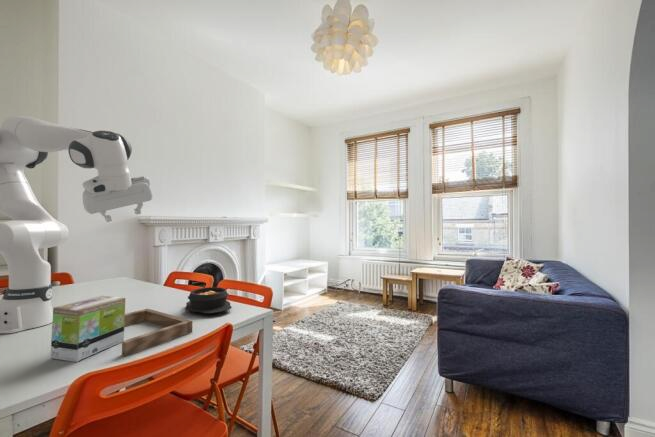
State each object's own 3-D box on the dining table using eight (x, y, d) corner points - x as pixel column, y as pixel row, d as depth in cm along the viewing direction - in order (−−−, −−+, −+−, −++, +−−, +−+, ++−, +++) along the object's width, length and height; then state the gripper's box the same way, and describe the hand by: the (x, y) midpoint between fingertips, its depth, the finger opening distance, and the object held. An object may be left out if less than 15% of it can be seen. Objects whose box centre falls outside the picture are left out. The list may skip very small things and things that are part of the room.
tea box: (78, 363, 82) (79, 309, 82) (49, 359, 84) (50, 307, 84) (125, 341, 96) (126, 296, 97) (100, 338, 99) (101, 294, 99)
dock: (125, 356, 86) (125, 342, 86) (80, 336, 100) (81, 324, 100) (192, 332, 105) (192, 320, 105) (147, 318, 119) (147, 308, 119)
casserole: (241, 311, 130) (242, 292, 130) (199, 321, 117) (200, 300, 117) (215, 300, 147) (215, 283, 147) (175, 307, 134) (176, 289, 134)
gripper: (144, 173, 110) (150, 206, 116) (76, 184, 95) (86, 222, 101) (152, 177, 106) (157, 212, 112) (83, 190, 91) (93, 229, 97)
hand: (123, 217), depth 106 cm, fingers open, 8 cm apart
